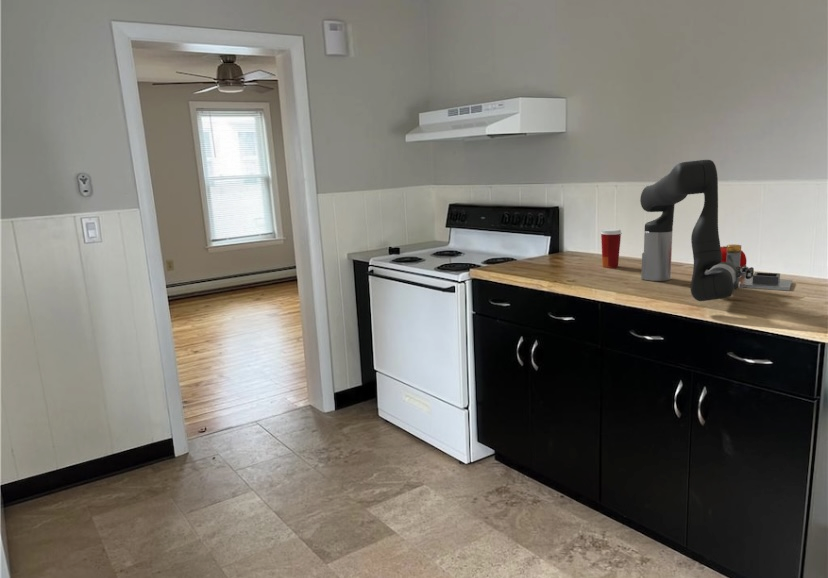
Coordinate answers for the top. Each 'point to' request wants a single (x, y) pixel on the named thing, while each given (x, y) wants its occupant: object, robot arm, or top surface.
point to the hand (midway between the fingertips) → (729, 267)
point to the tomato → (724, 256)
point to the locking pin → (734, 258)
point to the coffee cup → (610, 247)
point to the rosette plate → (766, 282)
